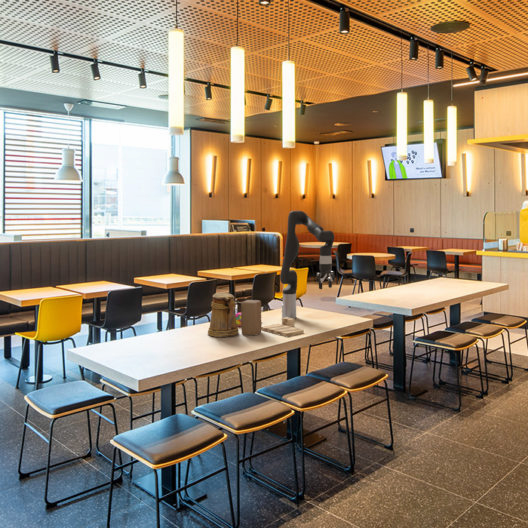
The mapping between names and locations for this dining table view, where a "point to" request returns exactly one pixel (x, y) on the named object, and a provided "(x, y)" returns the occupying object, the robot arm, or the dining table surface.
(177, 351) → the dining table surface
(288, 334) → the board
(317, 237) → the robot arm
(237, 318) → the pencil case
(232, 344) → the dining table surface
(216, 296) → the tankard
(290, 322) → the sanding block
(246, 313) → the wooden block
